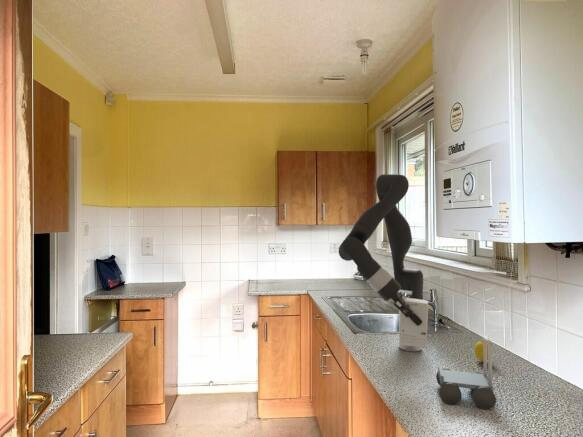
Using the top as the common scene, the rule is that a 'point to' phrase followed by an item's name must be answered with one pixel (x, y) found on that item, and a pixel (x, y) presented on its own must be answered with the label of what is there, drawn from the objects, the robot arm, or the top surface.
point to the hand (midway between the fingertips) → (419, 321)
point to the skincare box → (409, 329)
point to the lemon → (480, 350)
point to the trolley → (469, 382)
